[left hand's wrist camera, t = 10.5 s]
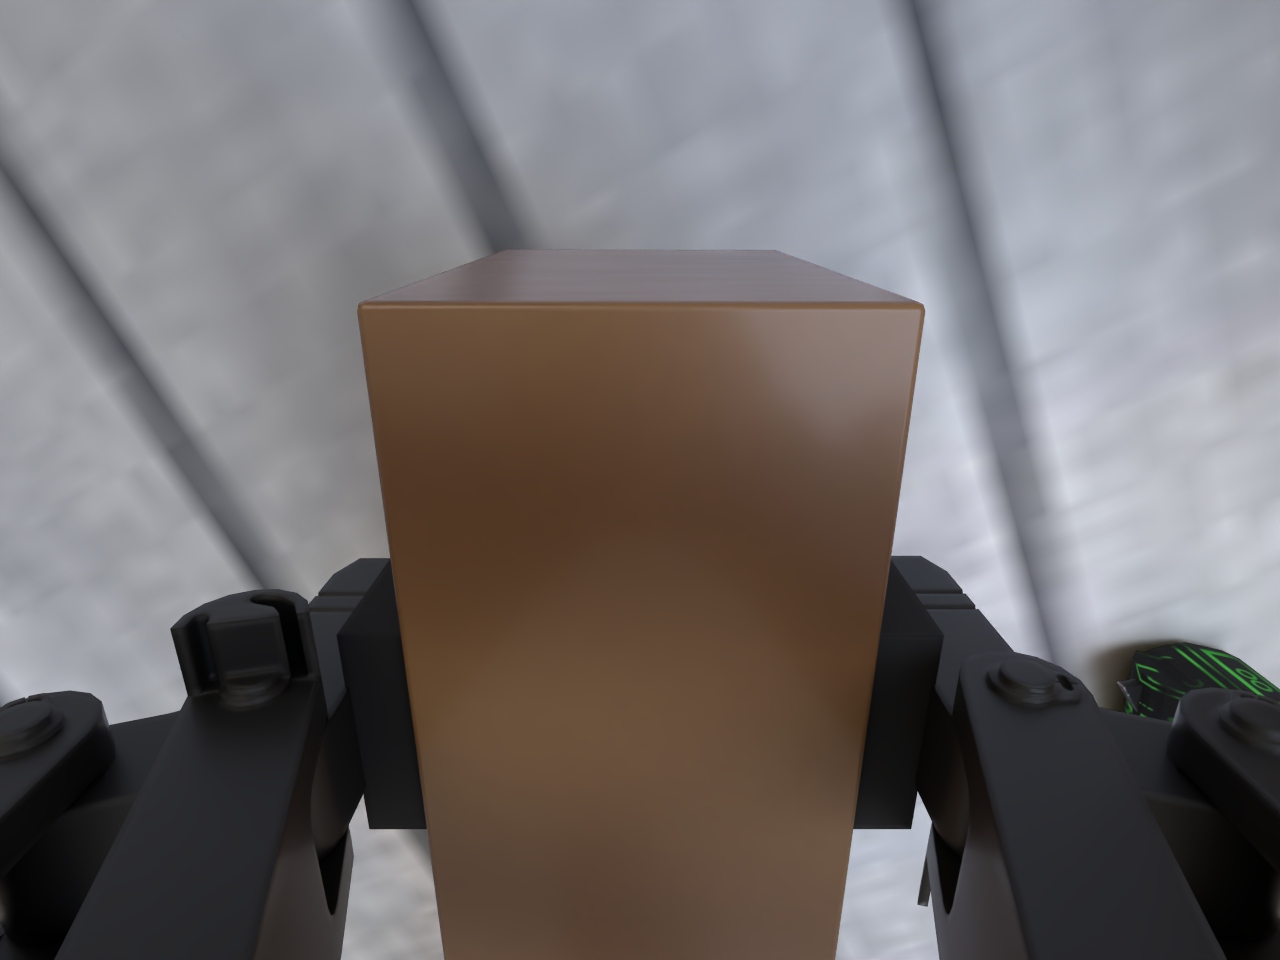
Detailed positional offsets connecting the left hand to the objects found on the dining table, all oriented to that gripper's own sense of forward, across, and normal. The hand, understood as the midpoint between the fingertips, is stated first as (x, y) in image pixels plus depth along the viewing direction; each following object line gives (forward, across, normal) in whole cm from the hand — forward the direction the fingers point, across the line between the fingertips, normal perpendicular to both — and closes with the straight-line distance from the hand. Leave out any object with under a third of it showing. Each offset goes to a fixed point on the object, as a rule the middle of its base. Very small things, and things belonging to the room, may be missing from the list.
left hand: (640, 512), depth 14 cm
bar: (+1, 0, -21) cm, 21 cm away
